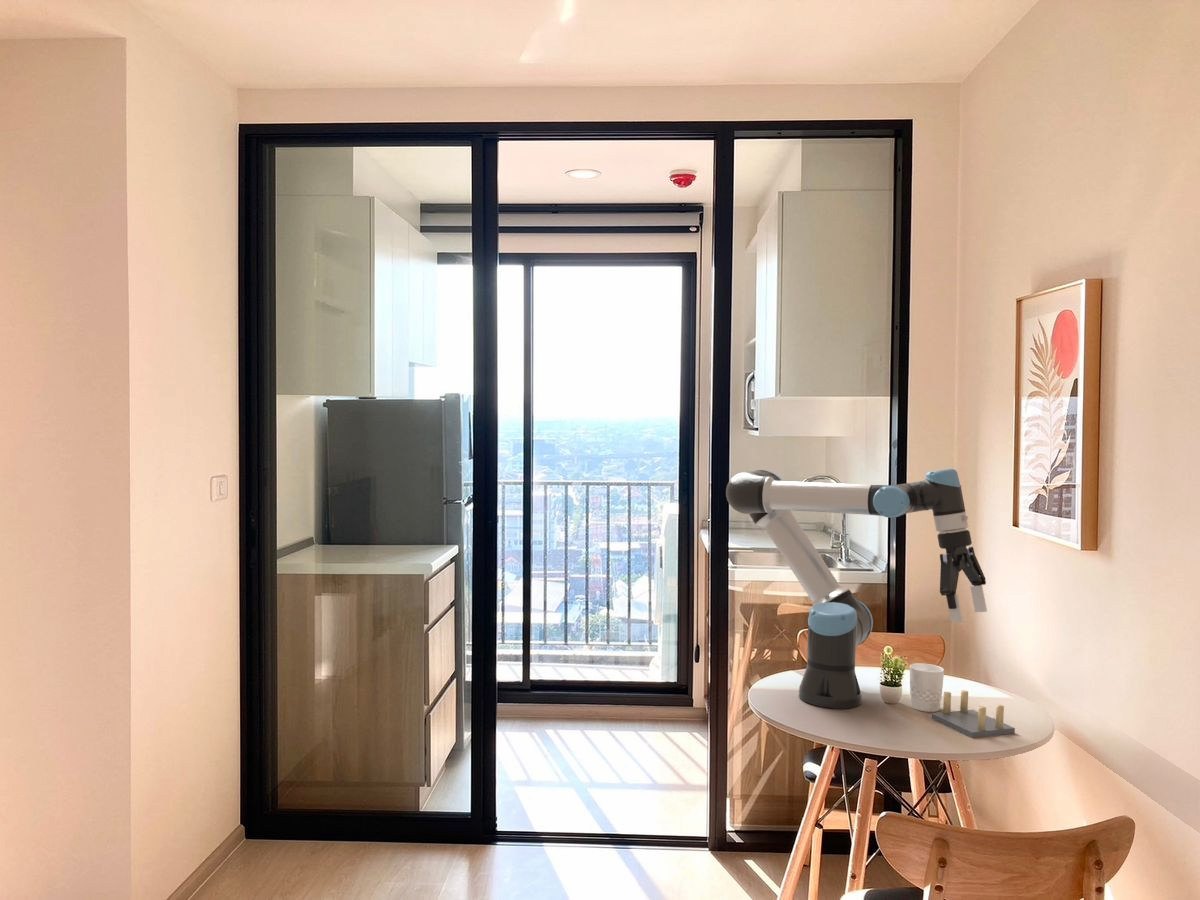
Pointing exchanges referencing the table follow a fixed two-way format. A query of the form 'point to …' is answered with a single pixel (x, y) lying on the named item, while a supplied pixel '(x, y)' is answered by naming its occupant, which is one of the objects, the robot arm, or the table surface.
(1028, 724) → the table surface
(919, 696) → the white cup
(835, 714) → the table surface
